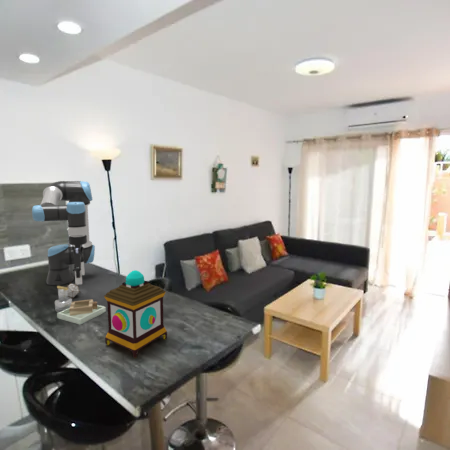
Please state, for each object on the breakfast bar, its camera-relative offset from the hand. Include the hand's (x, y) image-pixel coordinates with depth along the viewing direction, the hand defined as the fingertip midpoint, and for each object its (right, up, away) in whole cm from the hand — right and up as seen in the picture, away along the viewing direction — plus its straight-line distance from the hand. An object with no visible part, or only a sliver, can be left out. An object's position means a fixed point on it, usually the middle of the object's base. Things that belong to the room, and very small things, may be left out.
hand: (80, 279), depth 140 cm
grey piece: (-13, -16, +9) cm, 23 cm away
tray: (0, -18, +2) cm, 18 cm away
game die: (-16, -15, +23) cm, 32 cm away
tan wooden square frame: (0, -15, +2) cm, 15 cm away
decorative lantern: (+33, -22, -21) cm, 45 cm away
